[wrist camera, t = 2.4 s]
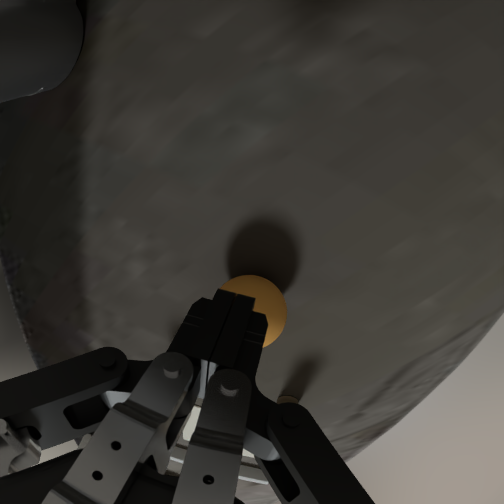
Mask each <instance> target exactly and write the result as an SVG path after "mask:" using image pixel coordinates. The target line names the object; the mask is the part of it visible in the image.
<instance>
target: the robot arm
mask: <svg viewBox="0 0 504 504" xmlns="http://www.w3.org/2000/svg"><path fill="white" fill-rule="evenodd" d="M82 40H83V20H82V16H81V13H80V11H79V9H78V7H77V5H76V0H0V103H1V102H4V101H8V100H12V99H15V98H19V97H23V96H28V95H33V94H37V93H39V92H43V91H48V90H51V89H53V88H55V87H57V86H58V85H59V84H60V83H61V82H63V81H64V80H65V78H66V77H67V76H68V75H69V73H70V72H71V70H72V68H73V67H74V65H75V63H76V61H77V58H78V56H79V53H80V49H81V45H82ZM236 295H237V296H236ZM255 300H256V298H254V297H250V296H246V295H242V294H237V293H234V292H230V291H227V290H223V289H218V290H217V291H216V293H215V295H214V298H213V300H210V299H206V298H201V299H199V300H198V301H196V302H195V303H194V304H192V306H191V308H190V310H189V312H188V313H187V315H186V317H185V319H184V321H183V323H182V324H181V326H180V328H179V330H178V332H177V333H176V335H175V337H174V339H173V341H172V343H171V344H170V346H169V348H168V350H167V351H166V353H162V354H160V355H158V356H157V357H156V358H155V359H154V360H151V361H137V360H127V357H126V355H125V354H124V353H123V352H122V351H121V350H119V349H117V348H114V347H103V348H99V349H97V350H94V351H91V352H88V353H85V354H83V355H80V356H77V357H74V358H71V359H68V360H65V361H63V362H60V363H57V364H54V365H51V366H48V367H45V368H42V369H39V370H36V371H33V372H30V373H27V374H24V375H21V376H18V377H15V378H12V379H9V380H5V381H2V382H0V504H244V503H243V502H242V501H241V500H239V499H238V498H236V497H235V492H236V487H237V481H238V476H239V470H240V465H241V459H242V453H243V449H245V450H247V451H249V452H250V453H252V454H254V458H255V460H256V461H257V463H258V465H259V467H260V468H261V470H262V472H263V473H264V475H265V477H266V479H267V480H268V482H269V484H270V485H271V487H272V489H273V490H274V492H275V494H276V495H277V497H278V498H279V500H280V501H281V503H282V504H375V503H374V502H373V500H372V499H371V498H370V496H369V495H368V494H367V492H366V491H365V490H364V488H363V487H362V486H361V484H360V483H359V482H358V480H357V479H356V477H355V476H354V475H353V473H352V472H351V471H350V469H349V468H348V466H347V465H346V464H345V462H344V461H343V460H342V458H341V457H340V455H339V454H338V453H337V451H336V450H335V448H334V447H333V446H332V444H331V443H330V441H329V440H328V439H327V437H326V436H325V434H324V433H323V431H322V430H321V429H320V427H319V426H318V424H317V423H316V421H315V420H314V419H313V417H312V416H311V414H310V413H309V412H308V410H307V409H306V408H304V407H303V406H301V405H299V404H296V403H292V402H285V403H280V404H277V403H275V402H273V401H272V400H270V399H268V398H267V397H265V396H264V395H263V394H262V393H261V392H260V391H259V390H258V388H257V386H256V382H255V376H256V372H257V368H258V364H259V360H260V356H261V352H262V348H263V344H264V341H265V337H266V333H267V329H268V321H267V318H266V314H263V313H259V312H255V311H253V309H254V305H255ZM197 397H200V398H203V403H202V406H201V410H200V413H199V417H198V420H197V424H196V427H195V431H194V433H192V435H191V438H190V441H189V445H188V448H187V452H186V455H185V459H184V462H183V466H182V469H181V473H180V477H176V476H167V475H164V473H165V471H166V469H167V467H168V464H169V460H170V456H171V453H172V451H173V449H174V447H175V445H176V443H177V441H178V439H179V437H180V435H181V434H182V432H183V430H184V428H185V426H186V424H187V422H188V420H189V418H190V416H191V413H192V409H193V407H194V404H195V402H196V399H197ZM94 431H95V433H94V434H93V436H92V437H91V439H90V440H89V442H88V443H87V445H86V446H85V448H84V449H78V450H74V451H72V452H69V453H67V454H64V455H61V456H59V457H57V458H54V459H51V460H48V461H46V462H43V463H40V464H38V463H39V461H40V456H41V450H44V449H47V448H50V447H53V446H56V445H59V444H61V443H64V442H67V441H70V440H73V439H76V438H78V437H81V436H84V435H86V434H89V433H92V432H94ZM36 464H38V465H36ZM33 465H35V466H33ZM31 466H32V467H31Z"/></svg>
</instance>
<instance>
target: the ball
mask: <svg viewBox="0 0 504 504" xmlns="http://www.w3.org/2000/svg"><path fill="white" fill-rule="evenodd" d="M220 289H223V290H227V291H230V292H234V293H237V294H242V295H246V296H250V297H254V298H256V300H255V305H254V309H253V311H255V312H259V313H263V314H266V318H267V321H268V329H267V333H266V337H265V341H264V344H263V347H265V346H267V345H269V344H271V343H272V342H273V341H274V340H275V339H276V338H277V337H278V336H279V335H280V334H281V332H282V330H283V328H284V326H285V323H286V318H287V307H286V302H285V299H284V297H283V295H282V293H281V292H280V290H279V289H278V288H277V287H276V286H275V285H274V284H273V283H272V282H270V281H269V280H267V279H265V278H263V277H260V276H256V275H242V276H238V277H235V278H233V279H231V280H229V281H228V282H226V283H225V284H224V285H223V286H222V287H221V288H220ZM236 296H237V295H236Z"/></svg>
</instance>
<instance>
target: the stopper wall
mask: <svg viewBox="0 0 504 504" xmlns="http://www.w3.org/2000/svg"><path fill="white" fill-rule="evenodd" d="M186 452H187V450H185V449H182V448H179V447H176V446H175V447H174V449H173V451H172V453H171V456H170V459H171V460H174V461H177V462H180V463H183V462H184V459H185V455H186ZM238 479H242V480H247V481H252V482H257V483H262V484H268V483H269V482H268V480H267V479H266V477H265V475H264V473H263V472H262V470H261V469H258V468H254V467H249V466H244V465H240V470H239V476H238Z"/></svg>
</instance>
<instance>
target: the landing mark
mask: <svg viewBox="0 0 504 504" xmlns="http://www.w3.org/2000/svg"><path fill="white" fill-rule="evenodd" d="M200 410H201V407H199V406H196V405H194V407H193V409H192V413H191V416H190V418H189V420H188V422H187V424H186V426H185V428H184V430H183V439H185V440H188V441H190V438H191V435H192V433H194V431H195V427H196V424H197V420H198V417H199V413H200ZM242 455H244V456H248V457H253V458H254V454H252V453H250V452H249V451H247V450H245V449H243V453H242Z"/></svg>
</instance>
